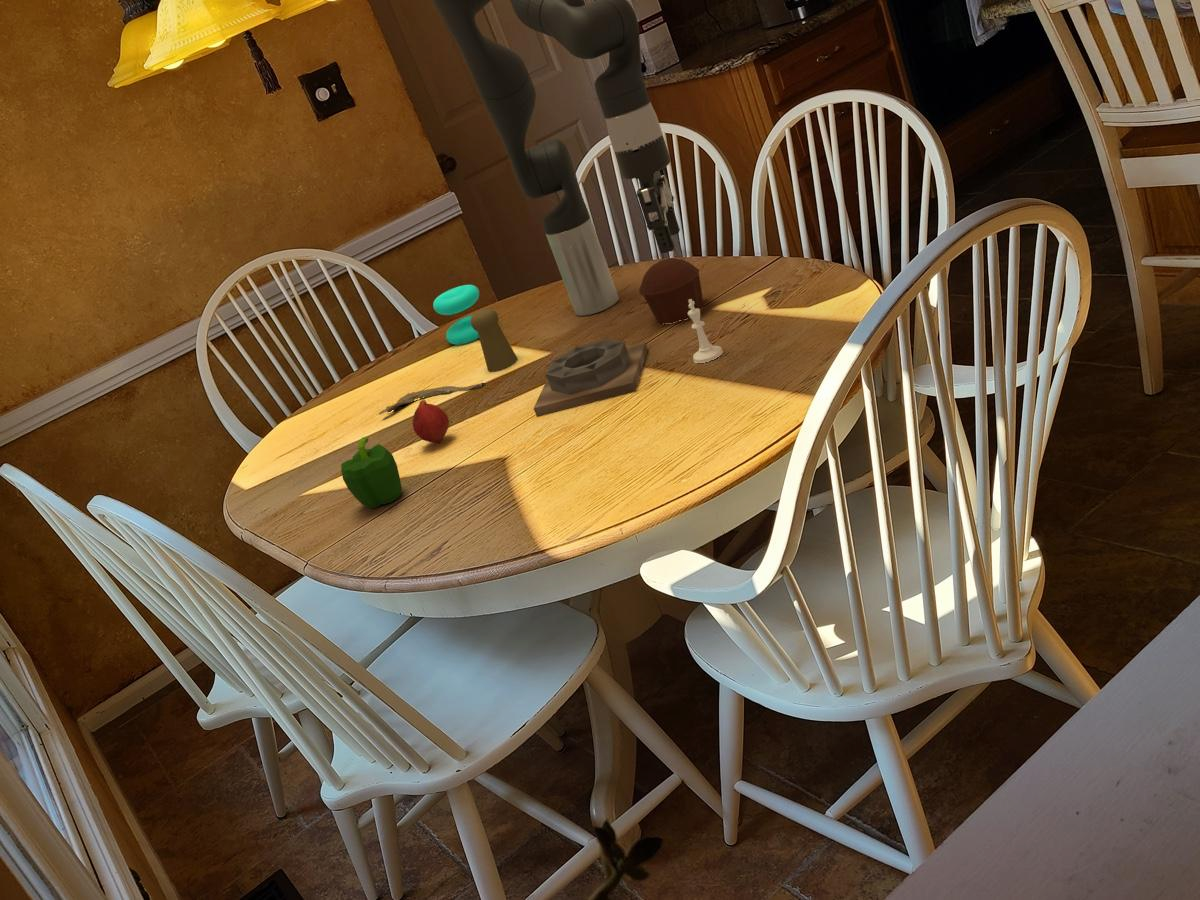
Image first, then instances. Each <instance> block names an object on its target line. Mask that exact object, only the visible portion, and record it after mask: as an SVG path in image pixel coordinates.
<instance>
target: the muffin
mask: <svg viewBox="0 0 1200 900" xmlns="http://www.w3.org/2000/svg"><path fill="white" fill-rule="evenodd" d="M699 274H700V269H699V268H697V267H696V266H695V265H694V264H692V263H690V262H689V261H686V260H685V259H682V258H677V257H672V258H671V257H670V258H665V259H662V260H660V261H657V262H656V263H654V264H653V265H651V266H650V267H649V268H648V269H647V271H646V272H645V273H644V275H643V278H642V280H641V284H640V287H639V290H638V293H639V294H641V296H643V298H644V300H645V301H646V303H647V305H648V307H649V309H650V311H651V313H652V315H653V317H654V319H655V320H656V322H658V323H659V325H660V324H663V323H664V325H666V324H665V323H673V322H676V321H679V320H683V319H687V318H689V315H688V312H689V311H690V310H691V308H689V301H688V300H689V299H692V301H694V303H695V304H694V308H698V309H700V310H701V309H702V307H703V306H704V307H705V305H704V298H703V292H702V285H701V280H700V279H701V277H700V275H699ZM702 310H703V309H702ZM702 310H701V311H702ZM689 319H690V318H689Z"/></svg>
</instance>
